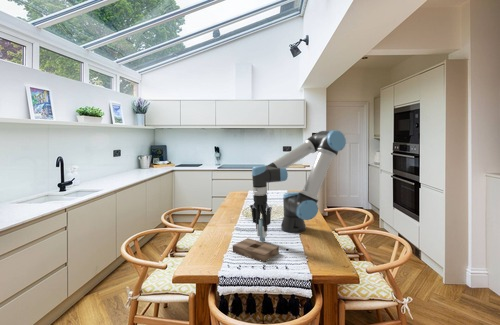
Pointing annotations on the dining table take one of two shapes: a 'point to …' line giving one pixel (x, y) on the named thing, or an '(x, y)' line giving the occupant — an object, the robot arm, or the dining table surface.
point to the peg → (261, 230)
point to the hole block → (256, 249)
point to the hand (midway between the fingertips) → (262, 236)
